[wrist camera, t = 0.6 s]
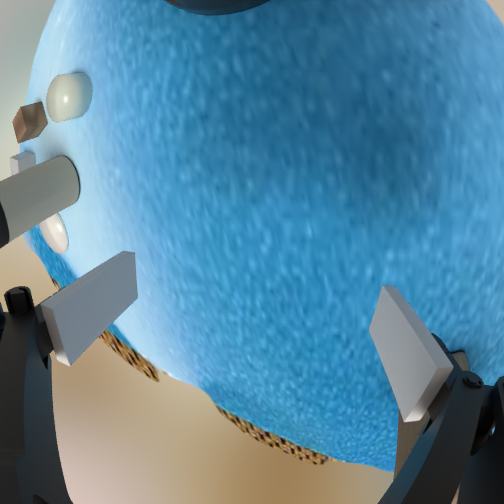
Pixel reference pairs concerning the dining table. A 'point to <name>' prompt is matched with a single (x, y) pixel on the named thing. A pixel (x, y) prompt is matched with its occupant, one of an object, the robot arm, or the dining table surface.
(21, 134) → the walnut block
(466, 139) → the dining table surface
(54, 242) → the saucer
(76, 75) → the beige rounded cylinder
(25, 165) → the grey cube
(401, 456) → the block
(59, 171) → the travel mug
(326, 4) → the dining table surface
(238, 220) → the dining table surface
